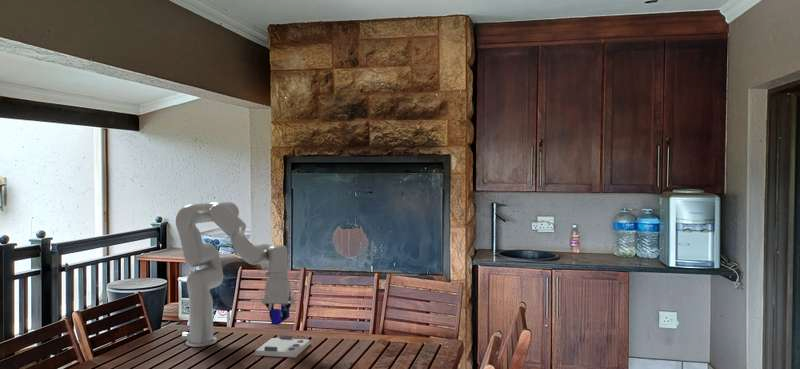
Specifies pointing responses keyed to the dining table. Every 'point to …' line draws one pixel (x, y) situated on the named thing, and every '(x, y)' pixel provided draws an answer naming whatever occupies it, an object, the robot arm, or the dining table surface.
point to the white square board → (282, 347)
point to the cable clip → (277, 316)
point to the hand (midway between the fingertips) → (278, 318)
